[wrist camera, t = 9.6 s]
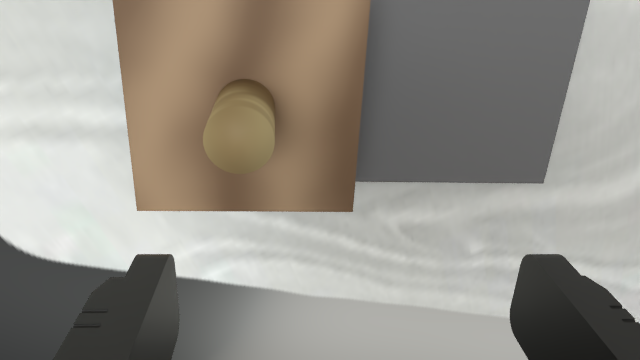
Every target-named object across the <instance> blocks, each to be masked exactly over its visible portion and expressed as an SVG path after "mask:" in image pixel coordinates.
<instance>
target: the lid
mask: <svg viewBox="0 0 640 360" xmlns="http://www.w3.org/2000/svg"><path fill="white" fill-rule="evenodd" d="M370 1H371V0H113V7H114V16H115V25H116V33H117V42H118V51H119V59H120V68H121V76H122V85H123V94H124V102H125V111H126V119H127V128H128V137H129V145H130V154H131V162H132V171H133V180H134V188H135V197H136V206H137V211H296V212H353V202H354V190H355V178H356V166H357V154H358V143H359V131H360V119H361V107H362V96H363V84H364V72H365V60H366V48H367V37H368V25H369V13H370Z"/></svg>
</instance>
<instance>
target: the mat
mask: <svg viewBox="0 0 640 360" xmlns="http://www.w3.org/2000/svg"><path fill="white" fill-rule="evenodd" d="M589 3H590V0H371V1H370V13H369V25H368V37H367V48H366V60H365V72H364V84H363V96H362V107H361V119H360V131H359V143H358V154H357V166H356V178H355V181H360V182H457V183H544V179H545V175H546V171H547V167H548V163H549V159H550V155H551V151H552V147H553V144H554V140H555V136H556V132H557V128H558V124H559V120H560V116H561V112H562V108H563V104H564V101H565V97H566V93H567V89H568V85H569V81H570V77H571V73H572V69H573V65H574V61H575V58H576V54H577V50H578V46H579V42H580V38H581V34H582V30H583V26H584V22H585V18H586V14H587V11H588V7H589Z"/></svg>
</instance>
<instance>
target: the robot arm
mask: <svg viewBox="0 0 640 360" xmlns="http://www.w3.org/2000/svg"><path fill="white" fill-rule="evenodd" d="M510 323H511V327H512V331H513V334H514V336H515V338H516V339H517V341H518V342H519V344H520V346H521V348H522V349H523V351H524V353H525V354H526V356H527V357H528V360H640V324H639V323H638V322H635V319H634V317H633V316H632V315H631V314H630V313H629V312H628V311H627V310H626V309H622V305H621V304H620V303H619V302H618V301H617V300H616V299H615V298H614V297H613V296H612V294H611V293H610V292H609V291H608V290H607V289H605V288H604V287H602V286H600V285H599V284H597V283H596V282H594V281H592V280H591V279H589V278H588V277H586V276H581V275H580V274H579V273H578V272H577V270H576V269H575V268H574V267H573V266H572V265H571V264H570V263H569V262H568V261H567V260H566V258H564V257H563V256H562V255H559V254H529V255H526V256H525V257H524V258H523V259H522V262H521V265H520V269H519V273H518V278H517V282H516V286H515V290H514V295H513V299H512V303H511V308H510ZM178 331H179V303H178V293H177V282H176V272H175V263H174V258H173V256H172V255H171V254H138V255H136V256H135V258H134V260H133V262H132V264H131V266H130V268H129V270H128V272H127V274H126V276H125V277H111V278H109V279H108V280H107V281H106V282H104V283H103V284H102V285H100V286H99V287H98V288H97V289H96V290H94V291H93V292H92V293H91V295H90V297H89V298H88V300H87V302H86V304H85V305H84V307H83V309H82V313H80V314H79V316H78V317H77V319H76V321H75V323H74V327H73V328H71V330H70V332H69V333H68V335H67V336H66V338H65V340H64V342H63V343H62V345H61V347H60V349H59V350H58V352H57V354H56V355H55V357H54V359H53V360H171V359H172V355H173V352H174V348H175V344H176V341H177V336H178Z"/></svg>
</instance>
